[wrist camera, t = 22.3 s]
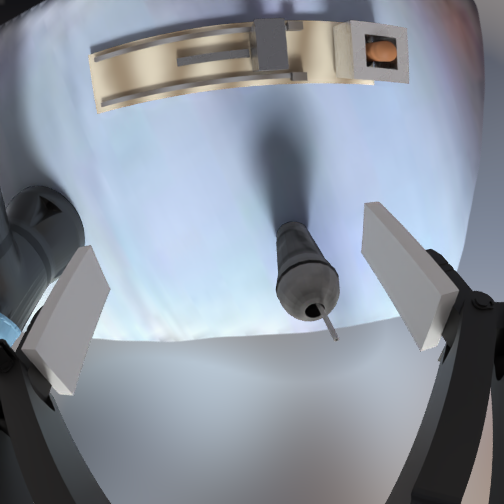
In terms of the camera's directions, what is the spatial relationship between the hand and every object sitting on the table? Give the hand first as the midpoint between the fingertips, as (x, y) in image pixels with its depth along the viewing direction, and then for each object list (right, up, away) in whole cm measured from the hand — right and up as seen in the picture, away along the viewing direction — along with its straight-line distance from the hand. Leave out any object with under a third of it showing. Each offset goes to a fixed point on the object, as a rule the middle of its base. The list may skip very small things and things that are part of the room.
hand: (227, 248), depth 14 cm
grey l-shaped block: (-2, +22, +15) cm, 27 cm away
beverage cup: (+7, +2, +30) cm, 31 cm away
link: (+14, +23, +15) cm, 31 cm away
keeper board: (-1, +22, +17) cm, 28 cm away
